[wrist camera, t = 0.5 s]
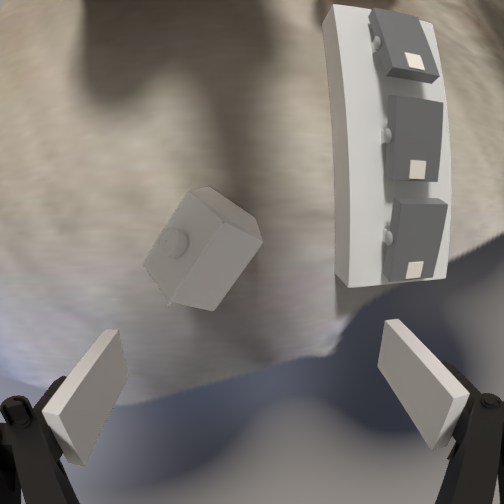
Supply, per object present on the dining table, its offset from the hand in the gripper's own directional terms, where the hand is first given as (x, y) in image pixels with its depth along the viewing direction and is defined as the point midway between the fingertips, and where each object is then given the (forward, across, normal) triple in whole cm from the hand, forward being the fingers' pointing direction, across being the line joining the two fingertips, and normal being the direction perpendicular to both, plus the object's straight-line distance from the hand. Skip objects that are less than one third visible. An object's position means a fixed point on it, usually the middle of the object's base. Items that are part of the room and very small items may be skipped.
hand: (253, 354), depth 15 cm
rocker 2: (+18, +18, +2) cm, 26 cm away
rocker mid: (+18, +18, +13) cm, 29 cm away
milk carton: (+27, -4, +2) cm, 27 cm away
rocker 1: (+18, +18, +24) cm, 35 cm away
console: (+26, +18, +13) cm, 34 cm away
